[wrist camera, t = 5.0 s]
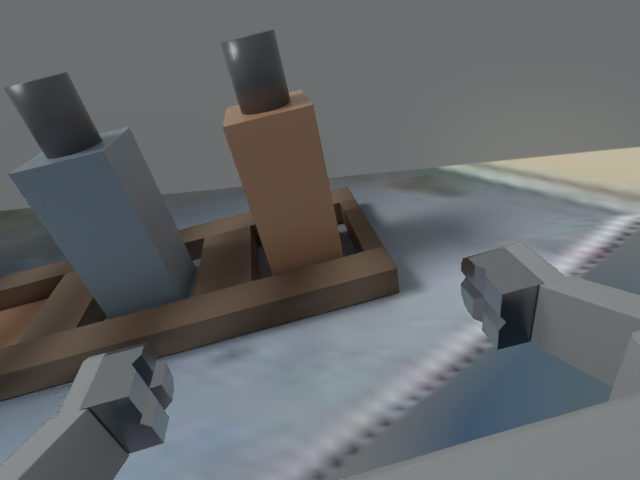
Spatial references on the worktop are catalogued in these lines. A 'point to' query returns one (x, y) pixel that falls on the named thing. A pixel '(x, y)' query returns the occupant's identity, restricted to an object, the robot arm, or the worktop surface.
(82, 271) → the slate plug
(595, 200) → the worktop surface
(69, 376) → the plug dock
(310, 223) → the terracotta plug
